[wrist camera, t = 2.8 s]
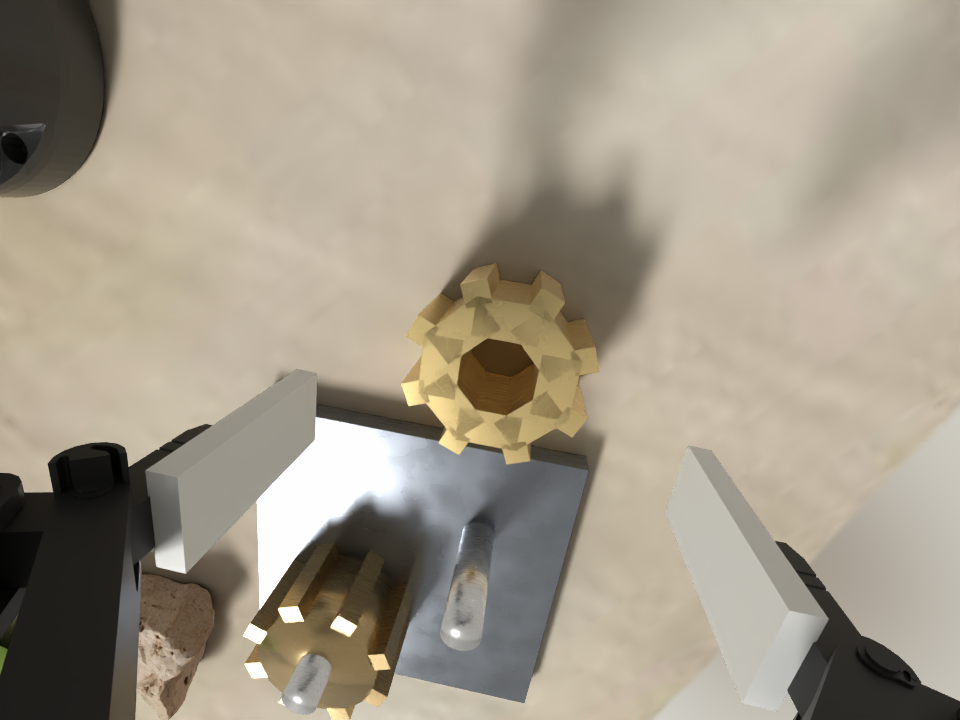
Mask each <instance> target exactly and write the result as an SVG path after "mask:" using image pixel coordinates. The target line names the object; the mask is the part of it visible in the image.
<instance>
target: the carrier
mask: <svg viewBox="0 0 960 720" xmlns="http://www.w3.org/2000/svg"><path fill="white" fill-rule="evenodd" d="M443 430H444V429H441V428H436V427H431V426H426V425H421V424H416V423H411V422H405V421H400V420H395V419H390V418H385V417H380V416H375V415H370V414H364V413H359V412H354V411H349V410H344V409H339V408H334V407H328V406H323V405H318V404H316V427H315V441H314V442H313V443H312V444H311V445H310V446H309V447H308V448H307V449H306V450H305V451H304V452H303V453H302V454H301V455H300V456H299V457H298V458H297V459H296V460H295V461H294V462H293V463H292V465H291V466H290V467H289V468H288V469H287V470H286V471H285V472H284V473H283V474H282V475H281V476H280V477H279V478H278V479H277V480H276V481H275V482H274V483H273V484H272V485H271V486H270V487H269V488H268V489H267V490H266V491H265V492H264V493H263V495H262V496H261V497H260V498H259V499H258V500H257V513H258V552H259V590H260V610H259V612H258V613H257V614H256V616H255V617H254V619H253V620H252V622H251V623H250V625H249V627H248V628H247V630H246V632H245V634H244V635H243V636H245V637H247V638H249V639H250V640H252V641H254V642H256V643H257V645H256V646H255V648H254V650H253V651H252V653H251V654H250V656H249V658H248V659H247V661H246V662H245V666H246V667H247V669H248V671H249V673H250V675H251V677H252V678H261V677H267V678H268V679H269V681H270V682H271V683H272V684H273V685H274V686H275V687H276V688H278V689H279V690H280V691H281V692H283V694H282V697H281V699H280V701H279V703H281V704H282V705H284V706H286V707H287V708H288V709H289V710H291V711H292V712H295V713H298V714H310V713H312V712H314V711H315V709H316V707H317V708H323V709H327V710H328V712H329V714H330V716H331V718H332V720H347V719H350V718H351V715H352V712H353V709H354V707H355V705H356V704H358V703H360V702H361V701H363V700H365V701H367V702H369V703H371V704H373V705H374V706H376V707H379V706H380V705H381V704H382V703H383V701H384V700H385V699H386V698H387V696H388V693H389V689H390V686H391V683H392V679H393V676H394V673H395V674H399V675H403V676H408V677H412V678H417V679H421V680H425V681H430V682H434V683H438V684H443V685H447V686H451V687H456V688H460V689H465V690H469V691H473V692H478V693H482V694H486V695H491V696H495V697H499V698H504V699H508V700H513V701H517V702H521V703H525V699H526V695H527V692H528V688H529V685H530V681H531V677H532V674H533V670H534V667H535V663H536V659H537V656H538V652H539V649H540V645H541V641H542V638H543V634H544V630H545V627H546V623H547V620H548V616H549V612H550V609H551V605H552V602H553V598H554V594H555V591H556V587H557V584H558V580H559V576H560V573H561V569H562V566H563V562H564V558H565V555H566V551H567V547H568V544H569V540H570V537H571V533H572V529H573V526H574V522H575V519H576V515H577V511H578V508H579V504H580V501H581V497H582V493H583V490H584V486H585V482H586V479H587V475H588V472H589V469H588V464H587V459H586V457H585V456H580V455H575V454H570V453H565V452H560V451H555V450H549V449H544V448H539V447H534V446H531V457H530V461H527V462H521V463H514V464H507V465H506V461H505V457H504V453H503V450H502V449H501V448H496V447H491V446H486V445H481V444H476V443H471V442H468V443H467V445H466V446H465V448H464V449H463V450H462V452H461V453H460V455H458V454H456V453H454V452H453V451H451V450H449V449H448V448H446V447H444V446H443V445H441V444H439V440H440V438H441V435H442V433H443Z"/></svg>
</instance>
